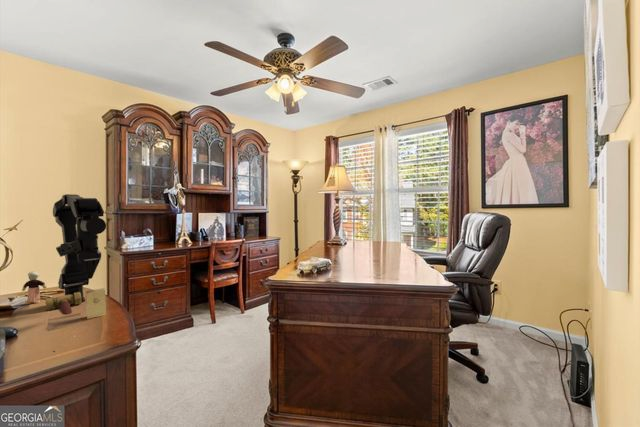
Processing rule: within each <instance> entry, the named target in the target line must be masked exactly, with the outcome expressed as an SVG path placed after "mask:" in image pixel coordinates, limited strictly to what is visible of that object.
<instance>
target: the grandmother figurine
mask: <svg viewBox="0 0 640 427" xmlns="http://www.w3.org/2000/svg"><path fill="white" fill-rule="evenodd" d="M27 276H28V281H26V282H25V283H24V284H23V286H22V289H21V291H22V292H25V291H26V289H27V301H25V303H24V305H30V304H34V305H35V304H39V303H40V302H41V291H40V286H41V287H42V288H43V289H44V290H45V289H47V286H46V283H45V282H44V281H42V280H39V279H38V278H39V276H40V274H39V272H37V271H30V272H28V273H27Z"/></svg>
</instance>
